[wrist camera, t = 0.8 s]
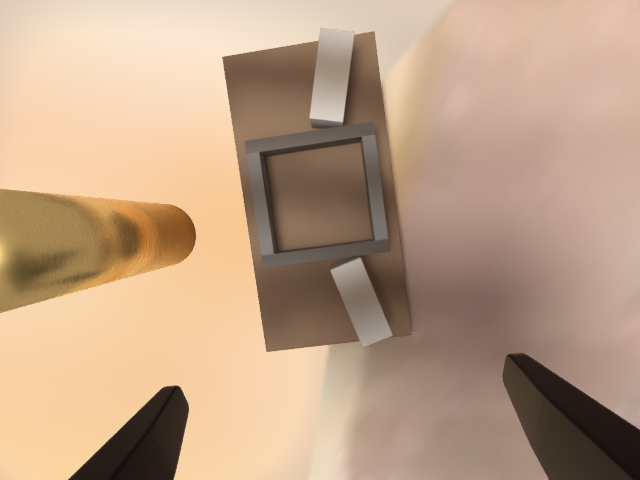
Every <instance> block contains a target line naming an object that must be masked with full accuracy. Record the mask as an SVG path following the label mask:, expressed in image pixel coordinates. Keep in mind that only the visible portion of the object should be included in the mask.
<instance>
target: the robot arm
mask: <svg viewBox="0 0 640 480" xmlns="http://www.w3.org/2000/svg"><path fill="white" fill-rule="evenodd" d="M503 382H504V385H505V387H506V390H507V392H508V394H509V397H510V399H511V401H512V404H513V406H514V408H515V411H516V413H517V415H518V418H519V420H520V422H521V425H522V427H523V429H524V432H525V434H526V436H527V438H528V441H529V443H530V445H531V447H532V449H533V451H534V453H535V455H536V456H537V458H538V460H539V462H540V464H541V466H542V467H543V469H544V471H545V473H546V475H547V476H548V478H549V480H640V430H639V429H638V428H636V427H635V426H633V425H632V424H630V423H629V422H627V421H626V420H624V419H623V418H621V417H620V416H618V415H617V414H615V413H614V412H612V411H611V410H609V409H608V408H606V407H605V406H603V405H602V404H600V403H599V402H597V401H596V400H594V399H593V398H591V397H590V396H588V395H587V394H585V393H584V392H582V391H581V390H579V389H578V388H576V387H575V386H573V385H572V384H570V383H569V382H567V381H566V380H564V379H563V378H561V377H560V376H558V375H557V374H555V373H554V372H552V371H551V370H549V369H547V368H546V367H544V366H543V365H541V364H540V363H538V362H537V361H535V360H534V359H532V358H531V357H529V356H528V355H526V354H524V353H515V354H508V355H507V356H506V359H505V365H504V370H503ZM188 412H189V405H188V402H187V400H186V398H185V396H184V394H183V392H182V390H181V388H180V387H179V386H167V387H163V388H162V389H161V390H160V391H159V392H158V393H157V394H156V395H155V396H154V397H152V399H150V400H149V401H148V402H147V403H146V404H145V405H144V406H143V407H142V408H141V409H140V410H139V411H138V412H137V413H136V414H135V415H134V416H133V417H132V418H131V419H130V420H129V421H128V422H127V423H126V424H125V425H124V426H123V427H122V428H121V429H120V430H119V431H118V432H117V433H116V434H115V435H114V436H113V437H112V438H110V439H109V440H108V441H107V442H106V443H105V444H104V445H103V446H102V447H101V448H100V449H99V450H98V451H97V452H96V453H95V454H94V455H93V456H92V457H91V458H90V459H89V460H88V461H87V462H86V463H85V464H84V465H83V466H82V467H81V468H80V469H79V470H78V471H77V472H76V473H75V474H74V475H72V476H71V478H69V479H68V480H174V476H175V473H176V469H177V464H178V460H179V455H180V450H181V446H182V441H183V436H184V432H185V427H186V423H187V418H188Z"/></svg>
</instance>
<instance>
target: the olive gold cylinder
mask: <svg viewBox="0 0 640 480" xmlns="http://www.w3.org/2000/svg"><path fill="white" fill-rule="evenodd" d="M195 240H196V233H195V227H194V224H193V222H192V220H191V218H190V217H189V216H188V215H187V214H186V213H185V212H184V211H183V210H182V209H180V208H178V207H176V206H172V205H167V204H157V203H144V202H135V201H124V200H113V199H103V198H91V197H80V196H70V195H59V194H48V193H38V192H37V193H36V192H26V191H16V190H5V189H0V313H2V312H5V311H9V310H12V309H16V308H19V307H23V306H26V305H30V304H34V303H37V302H41V301H45V300H48V299H52V298H55V297H59V296H63V295H66V294H70V293H73V292H77V291H81V290H84V289H88V288H91V287H95V286H99V285H102V284H106V283H109V282H113V281H117V280H120V279H124V278H127V277H130V276H134V275H138V274H142V273H145V272H149V271H152V270H156V269H160V268H163V267H167V266H170V265H174V264H177V263H179V262H181V261H183V260H184V259H185V258H187V256H189V254H190V253H191V251H192V250H193V247H194V245H195Z"/></svg>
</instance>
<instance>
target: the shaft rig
mask: <svg viewBox="0 0 640 480" xmlns="http://www.w3.org/2000/svg"><path fill="white" fill-rule="evenodd" d="M223 63H224V71H225V78H226V84H227V90H228V98H229V104H230V111H231V118H232V124H233V131H234V137H235V144H236V151H237V158H238V164H239V171H240V177H241V184H242V191H243V198H244V204H245V211H246V217H247V223H248V231H249V237H250V244H251V251H252V258H253V264H254V271H255V277H256V284H257V290H258V298H259V304H260V311H261V318H262V324H263V331H264V337H265V344H266V351H267V352H270V351H278V350H287V349H295V348H304V347H313V346H321V345H330V344H338V343H347V342H356V341H360V342H361V345H362V347H365V346H367V345H370V344H373V343H375V342H378V341H380V340H383V339H385V338H390V337H399V336H407V335H412V334H411V326H410V318H409V310H408V301H407V293H406V285H405V277H404V269H403V261H402V253H401V244H400V236H399V228H398V220H397V212H396V204H395V195H394V187H393V179H392V171H391V163H390V155H389V147H388V138H387V130H386V122H385V114H384V106H383V98H382V90H381V81H380V74H379V66H378V58H377V49H376V41H375V33H374V32H369V33H362V34H357V35H354V31H346V30H337V29H328V28H320V35H319V41H315V42H309V43H303V44H297V45H291V46H286V47H279V48H274V49H267V50H261V51H256V52H249V53H244V54H237V55H232V56H226V57H223Z"/></svg>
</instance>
